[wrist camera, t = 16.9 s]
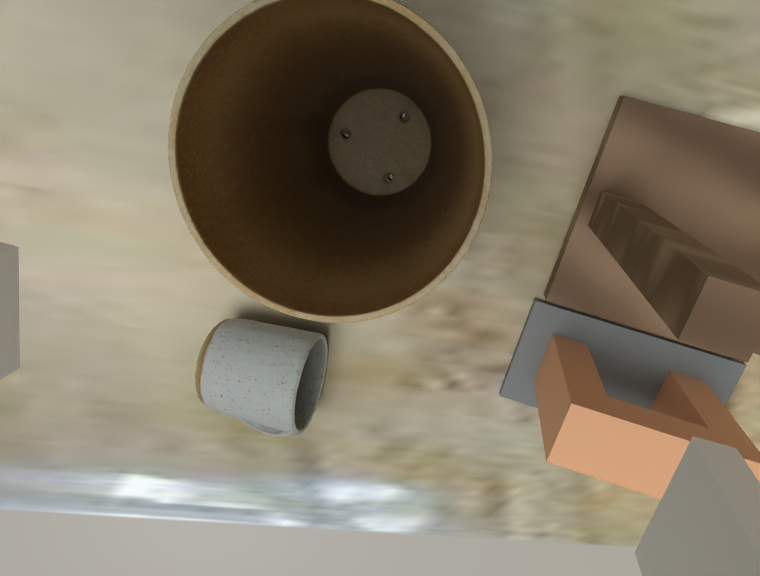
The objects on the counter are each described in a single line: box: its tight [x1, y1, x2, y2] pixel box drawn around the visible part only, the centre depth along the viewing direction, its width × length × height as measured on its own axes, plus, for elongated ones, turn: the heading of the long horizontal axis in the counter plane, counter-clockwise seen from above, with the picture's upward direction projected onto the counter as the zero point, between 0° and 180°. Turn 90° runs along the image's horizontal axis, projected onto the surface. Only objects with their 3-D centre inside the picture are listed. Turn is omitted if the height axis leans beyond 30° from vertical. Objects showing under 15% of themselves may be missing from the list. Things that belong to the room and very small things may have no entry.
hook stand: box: [544, 96, 760, 362], centre depth 29 cm, size 14×15×22 cm
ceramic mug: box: [195, 319, 328, 436], centre depth 45 cm, size 11×8×8 cm
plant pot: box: [169, 0, 492, 323], centre depth 34 cm, size 15×15×16 cm
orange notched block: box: [534, 334, 760, 499], centre depth 38 cm, size 11×4×10 cm, turn 75°
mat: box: [500, 298, 746, 410], centre depth 43 cm, size 8×15×1 cm, turn 75°
